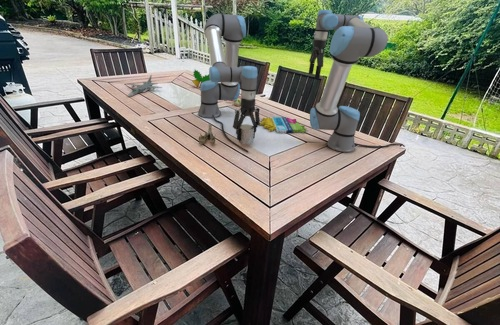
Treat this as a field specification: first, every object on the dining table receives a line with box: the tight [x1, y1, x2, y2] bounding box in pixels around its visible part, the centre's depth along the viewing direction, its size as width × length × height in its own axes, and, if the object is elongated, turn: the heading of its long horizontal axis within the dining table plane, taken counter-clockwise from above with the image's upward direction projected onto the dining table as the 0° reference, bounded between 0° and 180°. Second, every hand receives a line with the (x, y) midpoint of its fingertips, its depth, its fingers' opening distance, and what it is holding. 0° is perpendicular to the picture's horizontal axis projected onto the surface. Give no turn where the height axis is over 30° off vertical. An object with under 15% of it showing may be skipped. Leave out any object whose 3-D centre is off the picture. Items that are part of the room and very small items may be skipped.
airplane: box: [126, 74, 163, 98], centre depth 227 cm, size 38×31×10 cm
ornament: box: [191, 69, 210, 89], centre depth 252 cm, size 21×8×15 cm, turn 105°
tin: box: [238, 123, 254, 145], centre depth 144 cm, size 8×8×8 cm
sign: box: [259, 116, 307, 134], centre depth 176 cm, size 26×2×30 cm
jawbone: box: [198, 123, 217, 146], centre depth 145 cm, size 9×15×10 cm
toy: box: [223, 95, 257, 106], centre depth 219 cm, size 28×7×30 cm
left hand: (245, 138), depth 145 cm, fingers closed on tin, 8 cm apart
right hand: (313, 76), depth 167 cm, fingers open, 13 cm apart
